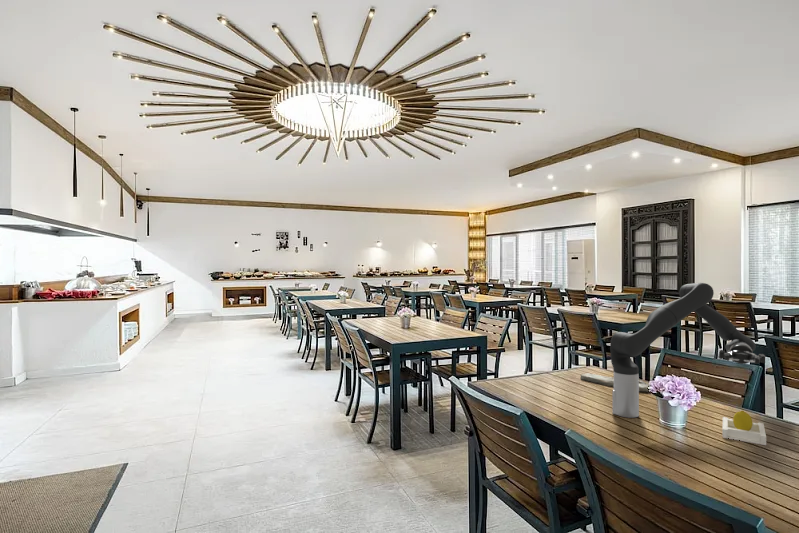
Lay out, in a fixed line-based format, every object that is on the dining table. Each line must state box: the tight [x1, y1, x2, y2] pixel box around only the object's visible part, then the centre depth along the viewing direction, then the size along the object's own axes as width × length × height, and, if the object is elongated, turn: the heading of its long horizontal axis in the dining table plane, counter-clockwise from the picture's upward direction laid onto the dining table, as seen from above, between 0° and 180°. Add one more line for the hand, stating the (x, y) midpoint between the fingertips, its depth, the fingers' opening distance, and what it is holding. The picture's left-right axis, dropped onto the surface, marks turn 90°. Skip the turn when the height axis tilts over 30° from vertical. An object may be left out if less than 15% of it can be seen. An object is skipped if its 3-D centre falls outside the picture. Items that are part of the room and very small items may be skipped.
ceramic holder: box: [721, 416, 767, 446], centre depth 161 cm, size 12×15×3 cm
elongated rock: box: [580, 372, 649, 393], centre depth 226 cm, size 35×5×10 cm
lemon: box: [732, 410, 754, 431], centre depth 161 cm, size 6×6×8 cm
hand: (742, 359), depth 169 cm, fingers open, 8 cm apart
